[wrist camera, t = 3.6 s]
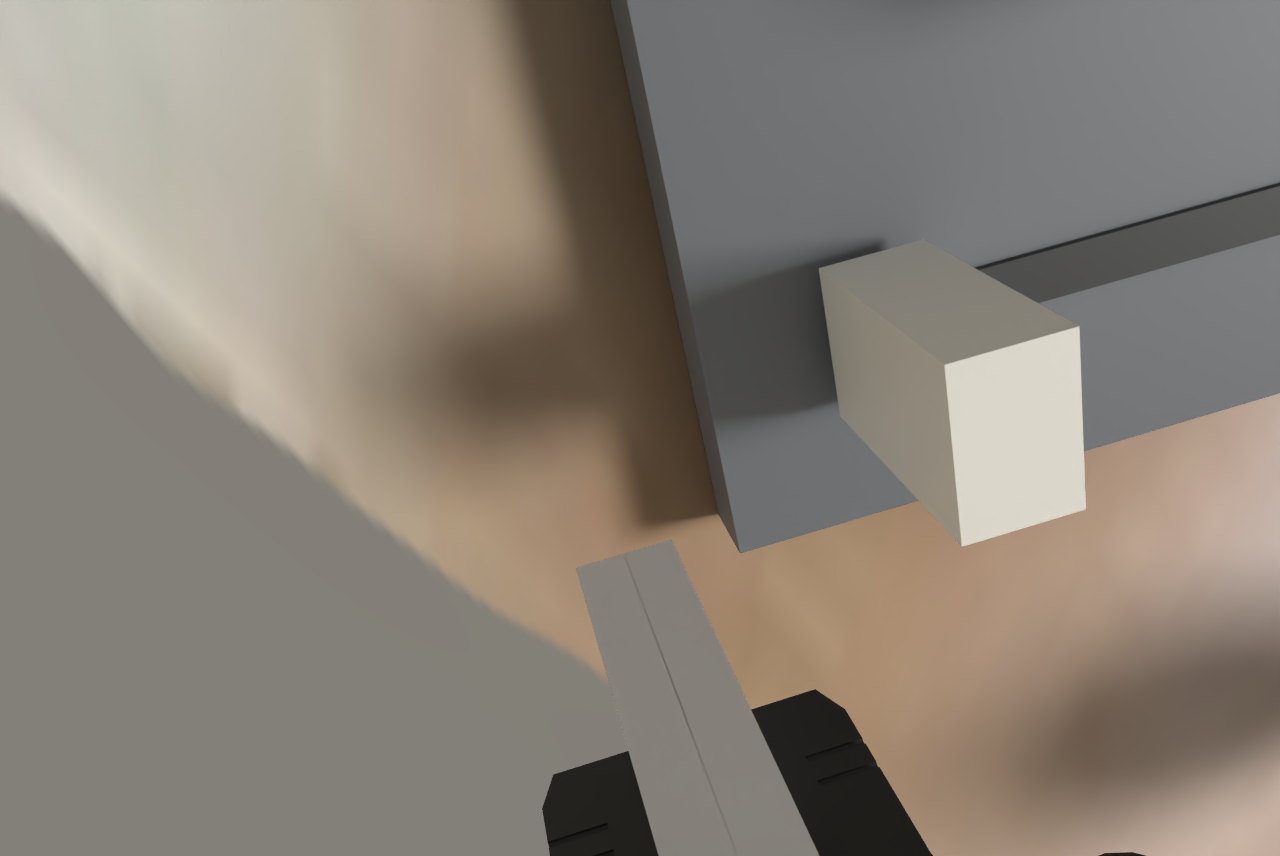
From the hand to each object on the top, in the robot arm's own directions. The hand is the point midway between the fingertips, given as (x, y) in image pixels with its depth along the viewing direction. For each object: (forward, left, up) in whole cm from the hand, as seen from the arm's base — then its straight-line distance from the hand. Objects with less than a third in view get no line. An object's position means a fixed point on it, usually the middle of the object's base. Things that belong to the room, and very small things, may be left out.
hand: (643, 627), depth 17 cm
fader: (0, +7, -8) cm, 10 cm away
